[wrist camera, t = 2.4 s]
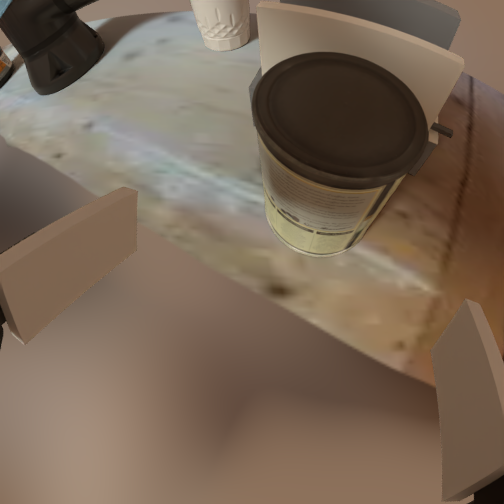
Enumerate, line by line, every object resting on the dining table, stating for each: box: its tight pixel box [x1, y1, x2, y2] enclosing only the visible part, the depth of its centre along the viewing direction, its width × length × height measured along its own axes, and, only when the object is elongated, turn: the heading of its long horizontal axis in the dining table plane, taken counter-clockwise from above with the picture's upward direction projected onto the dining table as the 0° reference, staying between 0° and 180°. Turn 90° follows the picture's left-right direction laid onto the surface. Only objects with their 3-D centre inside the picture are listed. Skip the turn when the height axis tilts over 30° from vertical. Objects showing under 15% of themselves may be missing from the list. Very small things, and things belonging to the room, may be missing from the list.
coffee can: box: [252, 52, 428, 257], centre depth 22 cm, size 10×10×14 cm
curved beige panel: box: [256, 1, 465, 138], centre depth 23 cm, size 1×18×14 cm, turn 70°
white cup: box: [190, 0, 250, 51], centre depth 32 cm, size 8×8×10 cm
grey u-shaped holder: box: [249, 0, 461, 176], centre depth 25 cm, size 13×18×15 cm
